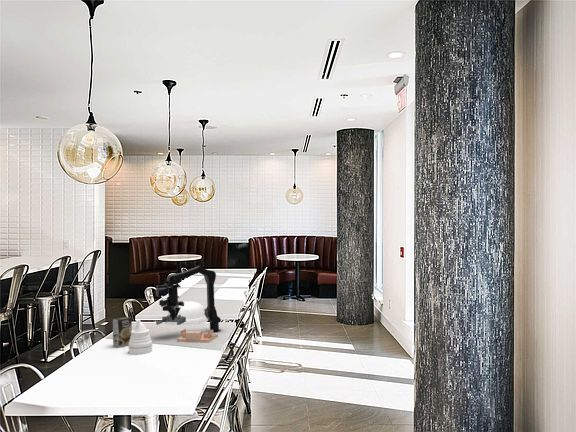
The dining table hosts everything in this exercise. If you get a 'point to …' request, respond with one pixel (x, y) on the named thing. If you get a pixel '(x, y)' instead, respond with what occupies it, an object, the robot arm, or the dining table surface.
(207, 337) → the display stand
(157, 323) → the glasses frame
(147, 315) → the dining table surface
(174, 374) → the dining table surface
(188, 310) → the dome cover
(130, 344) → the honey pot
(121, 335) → the coffee box
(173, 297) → the robot arm
